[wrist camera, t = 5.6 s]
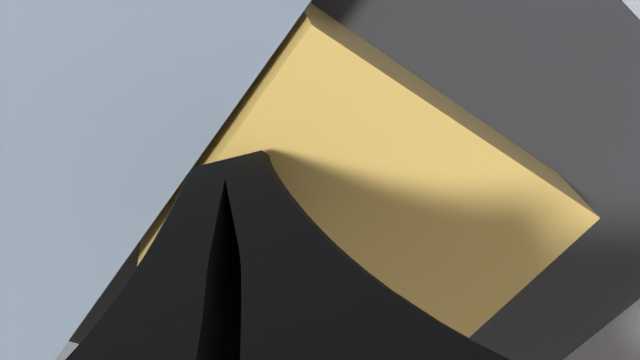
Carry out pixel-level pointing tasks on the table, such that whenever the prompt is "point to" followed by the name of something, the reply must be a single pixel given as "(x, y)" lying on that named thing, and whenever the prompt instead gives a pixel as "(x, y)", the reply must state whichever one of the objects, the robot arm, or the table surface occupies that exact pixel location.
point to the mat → (528, 139)
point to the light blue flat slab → (106, 137)
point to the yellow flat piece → (399, 175)
